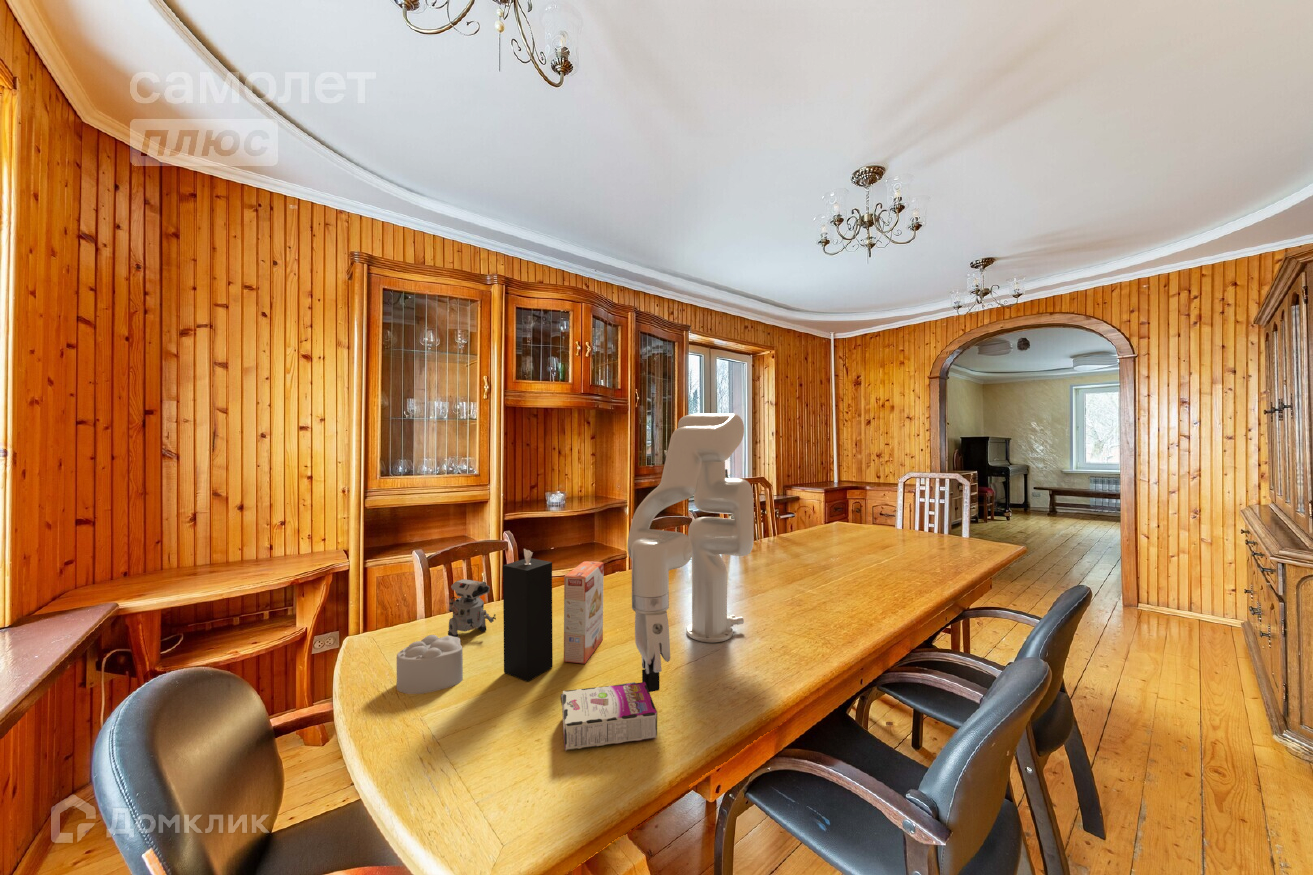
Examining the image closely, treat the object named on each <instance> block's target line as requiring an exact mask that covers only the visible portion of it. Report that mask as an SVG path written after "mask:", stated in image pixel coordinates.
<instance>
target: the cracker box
mask: <svg viewBox="0 0 1313 875" xmlns="http://www.w3.org/2000/svg"><path fill="white" fill-rule="evenodd" d="M604 564H605V563H604V562H602V561H587V560H585V561H583V562H581V563H580V564H579V565H577V566H576V567H574V568H573V569H572V570H570V572H568V573H567V574H565V575H564V577H563V578H564V579H563V580H564V582H563V584H564V585H563V586H564V587H563V588H564V589H563V590H564V591H563V593H564V595H563V662H565V663H573V664H574V663H575V664H581V665H582V664H583V665H585V664H586V663H587V662H588V660H589V659H590V658H591V656H592V655H593V653H595V651H596V650H597V648H598V647H599V645H600V644H601V643H602V642H603V639H604Z"/></svg>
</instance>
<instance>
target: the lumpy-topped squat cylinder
mask: <svg viewBox="0 0 1313 875" xmlns="http://www.w3.org/2000/svg"><path fill="white" fill-rule="evenodd" d="M458 637H459V636H458ZM458 637H453V636H449V635H445V636H442V637H438V636H437V635H436V634H429V635H426V636H425V637H423V638H422V639H421V640H419V641H418V640H417V641H413V642H412V643H410V644H409V645H408V646H406V647H404V648H403V649H401V650H400V651H399V652H397V654H396V690H397V691H398V692H400V693H404V694H410V695H422V694H427V693H432V692H437V691H441V690H445V689H449V688H451V687H454V686H457V685H459V684H460V683H461V682H462V681H463V678H464V677H463V676H464V675H463V674H464V672H463V671H464V670H463V669H464V668H463V667H464V666H463V662H464V661H463V660H464V659H463V646H462V645H461V638H460V637H459V638H458Z"/></svg>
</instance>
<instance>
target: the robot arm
mask: <svg viewBox="0 0 1313 875" xmlns="http://www.w3.org/2000/svg"><path fill="white" fill-rule="evenodd" d="M744 425H745V424H744V421H743V419H742V418H741V416H740V415H739V414H736V413H692V414H686V415H684V416H682V417H681V418H680V419H679V420H678V423H677V429H675V430H674V431H673V432H672V434H671V435H670V436H671V437H670V439H669V445H668V449H667V453H666V456H665V457H666V458H665V461H664V464H663V465H664V466H663V470H662V475H661V480H660V482H659V485H657V487H655V488H654V489H653V490H652V491H650V493H648V494H647V495H646V496H645V498H643V500H642V501H641V503H640V504H639V505H638V506H637V508H636V509H635V511H634V514H633V517H632V520H631V525H630V529H629V533H628V538H627V543H626V545H627V553H628V556H629V558H630V559H631V609H632V610H633V611H634V612H635V613H634V614H635V617H634V637H635V638H634V639H635V640H634V641H635V646H636V648H637V650H638V653H639V654H640V655H641V668H642V669H641V679H642V680H641V682H645V683H646V685H647V688H648V690H649V693H652V692H653V693H654V692H658V691H660V672H662V670H663V669H662V659H663V660H664V661H665V662H667V663H669V662H670V661H671V641H670V640H671V639H670V628H669V627H670V626H669V618H668V612H667V611H668V610H669V608H670V607H669V606H670V597H669V596H670V595H669V594H670V593H669V591H670V590H669V584H670V583H669V581H670V580H669V579H670V577H669V575H670V573H669V572H670V571H672V570H677V569H681V568H683V567H684V566H686V565H687V564H688V563H689V562H690V560H691V622H690V623H689V624H688V625H687V626H686V630H685V631H686V632H685V633H686V635H687V636H688V637H690V638H691V639H693V640H694V641H697V642H701V643H721V642H725V641H727V640H730V639H731V638H732V637H733V636H734V635H733V634H734V628H732V627H734V626H736V625H737V626H738V625H744V622H745V621H744V618H743V616H737V617H736V615H735V614H730V615H728V570H727V565H726V563H725V561H724V560H723V558H722V556H721V555H723V556H724V555H725V556H735V557H745V556H748V555H750V554H751V552H752V550H753V546H754V541H755V539H754V535H755V534H754V532H755V530H754V527H755V526H754V525H755V524H754V521H755V519H754V518H755V517H754V516H755V515H754V513H755V511H754V510H755V508H754V505H755V504H754V503H755V502H754V491H753V488H752V485H751V483H750V482H749V481H748V480H746V479H744V478H743V479H742V478H735V477H734V478H731V477H730V478H729V477H727V476H726V460H728V459H729V458H730V457H731V456H732V455H733V453H734V452H735V451H736V450H737V448H738V447H739V446H740V445H741V442H742V441H743V438H744V434H745V426H744ZM692 497H693V501H694V502H693V503H694V506H695V508H696V509H697V510H698V511H700V512H704V513H710V514H711V513H713V514H724V515H725V514H726V515H732V517H733V518H727V517H725V518H724V517H714V516H701V517H696V518H694V519H693V520H692V521H691V523H690V524H689V526H688V529H687V530H688V532H687V534H686V533H683V532H679V531H672V530H671V531H670V530H661V529H651V525H652V523H653V520H654V519H655V517H656V516H657V515H658V514H659V513H660V512H662V511H663V510H665V509H666V508H668V507H670V506H673V505H674V504H677V503H679V502H683V501H685V500H687V499H689V498H692Z"/></svg>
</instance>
